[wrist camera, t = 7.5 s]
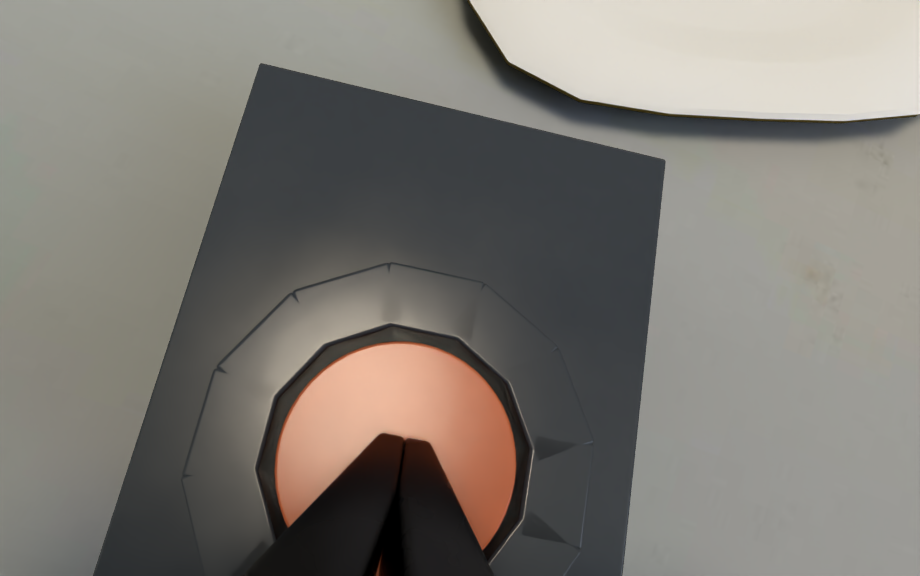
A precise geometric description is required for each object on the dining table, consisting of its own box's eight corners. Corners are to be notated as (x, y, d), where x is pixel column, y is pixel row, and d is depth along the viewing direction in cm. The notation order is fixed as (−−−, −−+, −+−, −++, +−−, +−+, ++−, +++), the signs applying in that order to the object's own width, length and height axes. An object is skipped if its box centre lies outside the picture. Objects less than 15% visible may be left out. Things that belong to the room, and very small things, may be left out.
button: (475, 579, 11) (495, 613, 9) (270, 542, 11) (243, 569, 9) (509, 375, 12) (533, 365, 10) (322, 337, 12) (309, 319, 10)
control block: (530, 612, 17) (651, 773, 9) (191, 553, 16) (7, 674, 8) (582, 239, 20) (706, 120, 12) (299, 175, 19) (239, 6, 11)
